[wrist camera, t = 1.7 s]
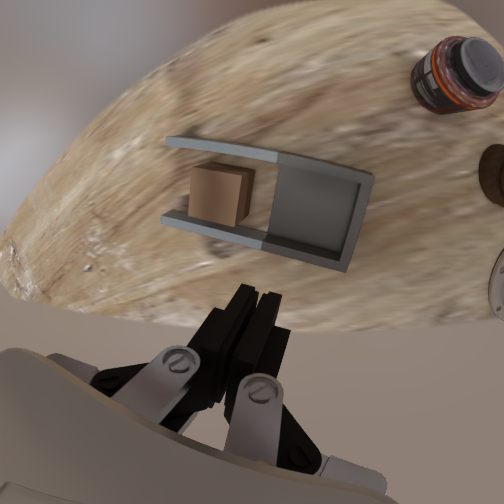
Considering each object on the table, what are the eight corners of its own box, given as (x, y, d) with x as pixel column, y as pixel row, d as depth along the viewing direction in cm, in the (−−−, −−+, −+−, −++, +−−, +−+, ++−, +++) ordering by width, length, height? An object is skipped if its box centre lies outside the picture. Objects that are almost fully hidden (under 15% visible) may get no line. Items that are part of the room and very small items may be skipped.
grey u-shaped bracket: (371, 172, 25) (374, 176, 23) (345, 262, 29) (345, 272, 27) (178, 135, 29) (166, 136, 27) (171, 217, 33) (160, 223, 31)
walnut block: (255, 169, 28) (241, 175, 24) (248, 214, 31) (234, 227, 27) (211, 161, 29) (192, 166, 25) (207, 204, 32) (188, 215, 28)
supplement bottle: (469, 89, 18) (528, 75, 8) (442, 126, 21) (498, 126, 11) (426, 48, 18) (468, 10, 8) (398, 85, 21) (434, 56, 11)
